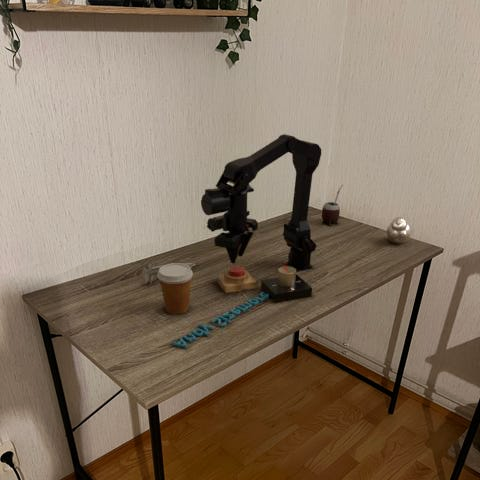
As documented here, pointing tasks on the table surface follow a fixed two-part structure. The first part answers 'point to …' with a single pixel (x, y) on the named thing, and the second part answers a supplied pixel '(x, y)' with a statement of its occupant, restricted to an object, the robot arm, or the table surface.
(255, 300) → the nameplate
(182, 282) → the disposable coffee cup
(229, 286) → the button block
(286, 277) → the knob
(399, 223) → the silver spiral shell
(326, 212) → the mate gourd
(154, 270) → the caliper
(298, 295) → the dial console
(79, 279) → the table surface
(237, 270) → the button
